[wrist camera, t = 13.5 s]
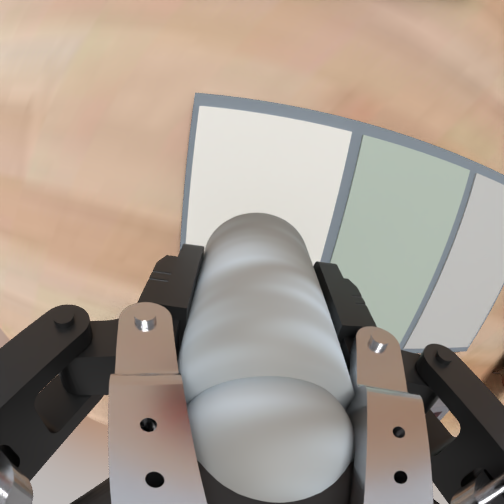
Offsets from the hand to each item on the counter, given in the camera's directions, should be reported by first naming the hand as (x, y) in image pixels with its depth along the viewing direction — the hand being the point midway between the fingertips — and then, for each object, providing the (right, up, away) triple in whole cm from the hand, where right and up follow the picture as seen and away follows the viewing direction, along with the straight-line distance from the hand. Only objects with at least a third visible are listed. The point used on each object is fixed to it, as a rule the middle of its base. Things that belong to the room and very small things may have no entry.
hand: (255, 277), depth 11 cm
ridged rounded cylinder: (0, +1, +1) cm, 1 cm away
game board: (+6, +1, +3) cm, 7 cm away
